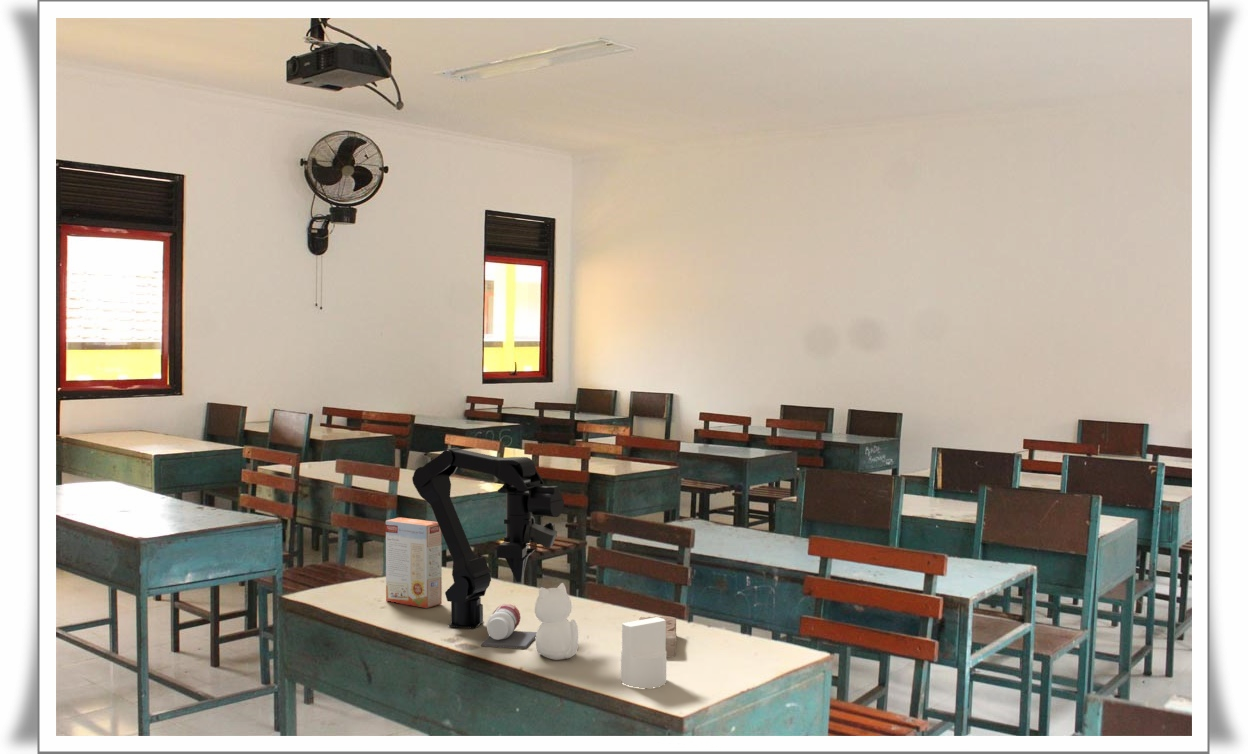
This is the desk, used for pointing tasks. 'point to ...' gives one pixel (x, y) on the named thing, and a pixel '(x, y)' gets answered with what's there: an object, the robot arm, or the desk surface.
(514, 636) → the mat
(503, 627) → the pill bottle
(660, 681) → the base with upright slab
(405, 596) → the cracker box
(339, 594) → the desk surface
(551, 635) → the cat figurine
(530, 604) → the desk surface
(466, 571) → the robot arm
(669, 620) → the brick
